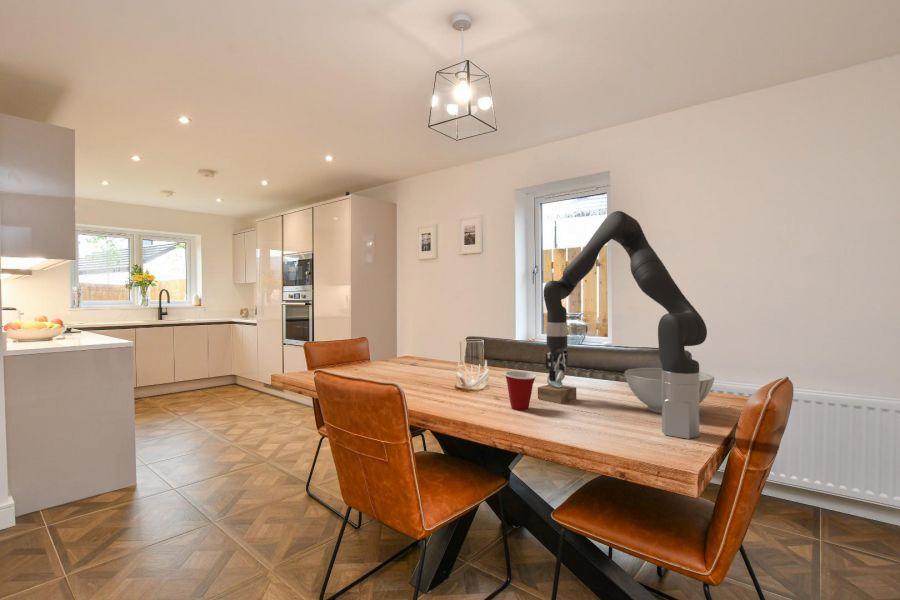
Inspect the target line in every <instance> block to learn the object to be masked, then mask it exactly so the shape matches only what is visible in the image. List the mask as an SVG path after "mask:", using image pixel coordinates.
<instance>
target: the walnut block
mask: <svg viewBox="0 0 900 600" xmlns="http://www.w3.org/2000/svg"><path fill="white" fill-rule="evenodd" d="M558 386H560V385H559V384H558ZM538 399H539V401H542V400H543V401H542V402H547V401H548V403H552V402H553V404H557V403H558V405H562V404H566V402H567V403H570V401H571V402H574V401H577V387H576V386H571V385H570V386H569V385H563V384H562V386H561V387H555V386H549V385H548V384H547V385H541V386H538V387H537V400H538ZM573 400H574V401H573Z"/></svg>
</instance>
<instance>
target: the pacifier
mask: <svg viewBox="0 0 900 600" xmlns="http://www.w3.org/2000/svg"><path fill="white" fill-rule="evenodd" d="M555 371H556V380H555V381H550V380H549V373H548V374H547V376H546V383H547V385H549V386H555V387H561V386H562V385H563V382H562V381H563V380H564V378H565V377H566V376H565V375H566V374H565V375H564V372H563V371H562V370H559V369H556V370H555ZM564 376H565V377H564ZM558 385H560V386H558Z"/></svg>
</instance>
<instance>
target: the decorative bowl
mask: <svg viewBox="0 0 900 600" xmlns="http://www.w3.org/2000/svg"><path fill="white" fill-rule="evenodd" d="M624 377H625V379H626V381H627V385H628V387H629V389H630V391H631V392H632V394H633V395H634V396H635V397H636V398H637V399H638V400H639V401H640V402H641V403H643V404H644V405H646V406H647V409H648V410H649V411H651V412H653V413H657V414H662V367H640V368H639V367H638V368H631V369H630V368H629V369H627V370H624ZM714 381H715V377H714V376H713V375H712V374H709V373H706V372H701V371H699V405H700V404H701V403H702V402H703V401H704V400H705V398H707V396H708V395H709V394H710V391H712V387H713V386H714Z"/></svg>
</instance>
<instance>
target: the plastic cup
mask: <svg viewBox="0 0 900 600" xmlns="http://www.w3.org/2000/svg"><path fill="white" fill-rule="evenodd" d="M504 375H505V379H506V384H507V391H508V397H509V402H510V408H511V409H512V410H516V411H527V410H528V409H529V407H530V403H531V399H532V391H533V386H534V382H535V380H536V378H537V374H534V373H531V372H528V371H527V372H526V371H521V370H520V371H518V370H509V371H505V372H504Z"/></svg>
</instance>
